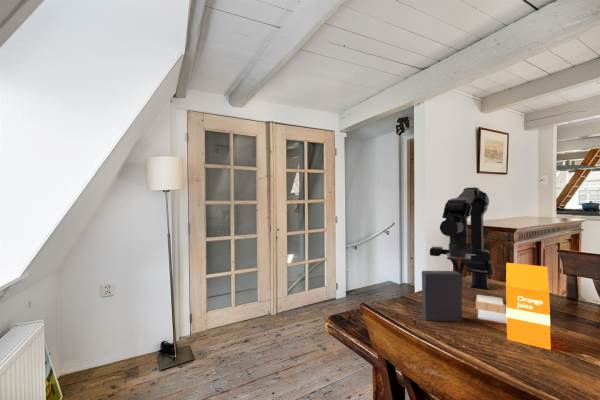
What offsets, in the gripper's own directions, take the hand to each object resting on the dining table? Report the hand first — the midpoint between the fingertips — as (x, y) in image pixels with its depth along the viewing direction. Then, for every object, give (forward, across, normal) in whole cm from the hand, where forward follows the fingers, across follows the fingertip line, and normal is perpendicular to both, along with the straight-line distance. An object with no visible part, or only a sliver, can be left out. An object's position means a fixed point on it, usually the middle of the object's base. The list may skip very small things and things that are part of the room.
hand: (459, 276), depth 100 cm
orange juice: (+10, +17, -20) cm, 28 cm away
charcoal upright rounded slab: (+10, -4, -18) cm, 21 cm away
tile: (+8, +5, 0) cm, 10 cm away
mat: (+10, +14, -3) cm, 17 cm away
